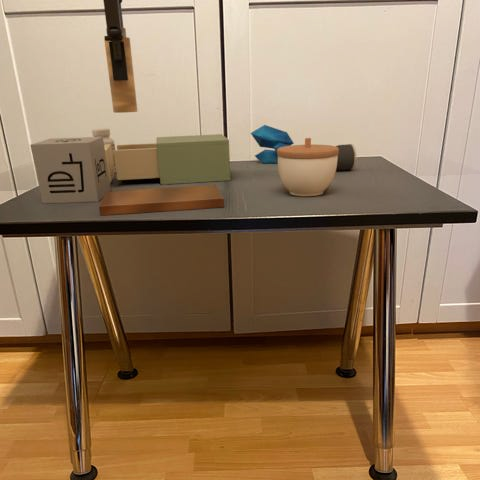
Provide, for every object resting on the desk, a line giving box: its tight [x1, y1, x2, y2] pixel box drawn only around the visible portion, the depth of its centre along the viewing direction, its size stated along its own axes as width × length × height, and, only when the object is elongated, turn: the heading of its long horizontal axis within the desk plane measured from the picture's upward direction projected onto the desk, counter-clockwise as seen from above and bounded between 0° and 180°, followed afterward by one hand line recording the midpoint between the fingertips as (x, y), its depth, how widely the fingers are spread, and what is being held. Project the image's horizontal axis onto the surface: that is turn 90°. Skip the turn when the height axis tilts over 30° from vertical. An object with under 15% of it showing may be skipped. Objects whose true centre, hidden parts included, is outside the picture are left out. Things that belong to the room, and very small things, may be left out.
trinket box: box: [277, 137, 339, 197], centre depth 85 cm, size 11×11×9 cm
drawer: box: [104, 142, 160, 184], centre depth 102 cm, size 18×11×6 cm, turn 99°
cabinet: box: [155, 133, 231, 186], centre depth 104 cm, size 15×13×8 cm
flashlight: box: [335, 143, 357, 171], centre depth 106 cm, size 15×5×5 cm, turn 102°
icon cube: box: [29, 136, 112, 204], centre depth 89 cm, size 10×10×10 cm
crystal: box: [250, 124, 295, 165], centre depth 120 cm, size 7×9×12 cm
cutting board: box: [98, 184, 225, 216], centre depth 83 cm, size 20×12×2 cm, turn 99°
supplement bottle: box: [91, 128, 116, 174], centre depth 113 cm, size 5×5×10 cm
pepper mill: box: [103, 27, 138, 114], centre depth 94 cm, size 5×5×15 cm
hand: (121, 80), depth 95 cm, fingers closed on pepper mill, 5 cm apart
